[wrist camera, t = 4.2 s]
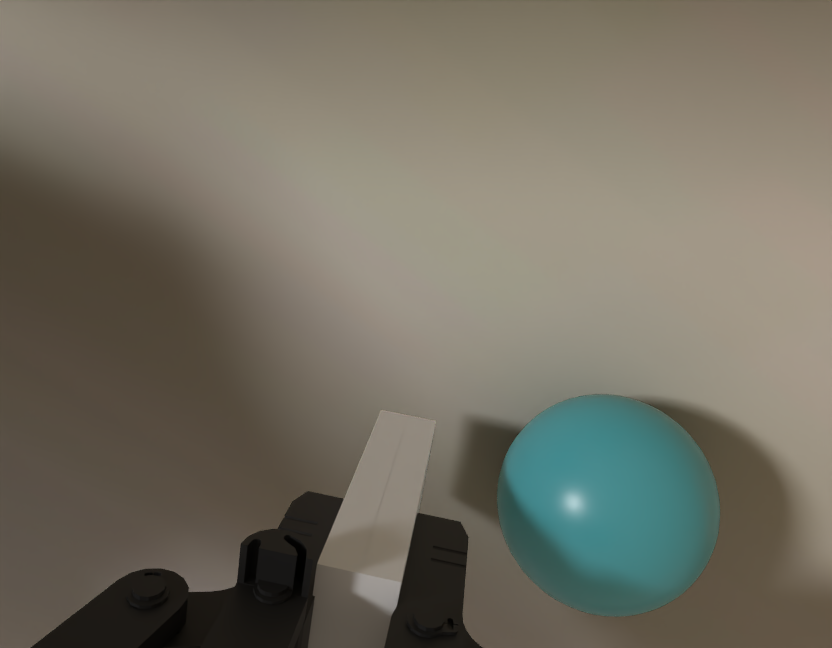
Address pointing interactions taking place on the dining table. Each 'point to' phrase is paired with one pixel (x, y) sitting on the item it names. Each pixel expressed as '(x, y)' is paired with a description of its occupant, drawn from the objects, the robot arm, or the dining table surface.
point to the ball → (608, 505)
